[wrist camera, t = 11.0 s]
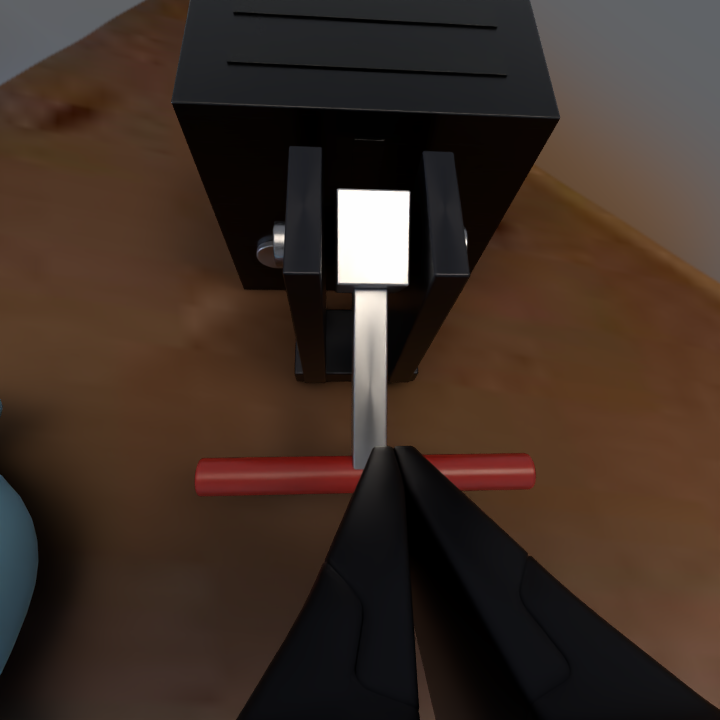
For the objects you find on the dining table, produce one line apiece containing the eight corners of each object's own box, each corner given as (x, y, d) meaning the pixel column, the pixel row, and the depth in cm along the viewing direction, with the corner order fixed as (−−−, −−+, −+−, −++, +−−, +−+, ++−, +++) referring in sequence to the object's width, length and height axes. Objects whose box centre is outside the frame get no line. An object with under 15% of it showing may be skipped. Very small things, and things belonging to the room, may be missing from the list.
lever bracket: (414, 389, 21) (489, 276, 11) (296, 390, 21) (262, 273, 11) (409, 312, 23) (470, 151, 13) (298, 311, 22) (271, 144, 12)
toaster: (460, 296, 23) (564, 122, 13) (243, 294, 23) (168, 107, 12) (448, 192, 26) (526, -22, 16) (252, 187, 25) (196, -44, 15)
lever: (512, 475, 16) (545, 502, 13) (210, 481, 15) (187, 510, 12) (520, 215, 15) (556, 193, 12) (205, 208, 14) (179, 183, 12)
